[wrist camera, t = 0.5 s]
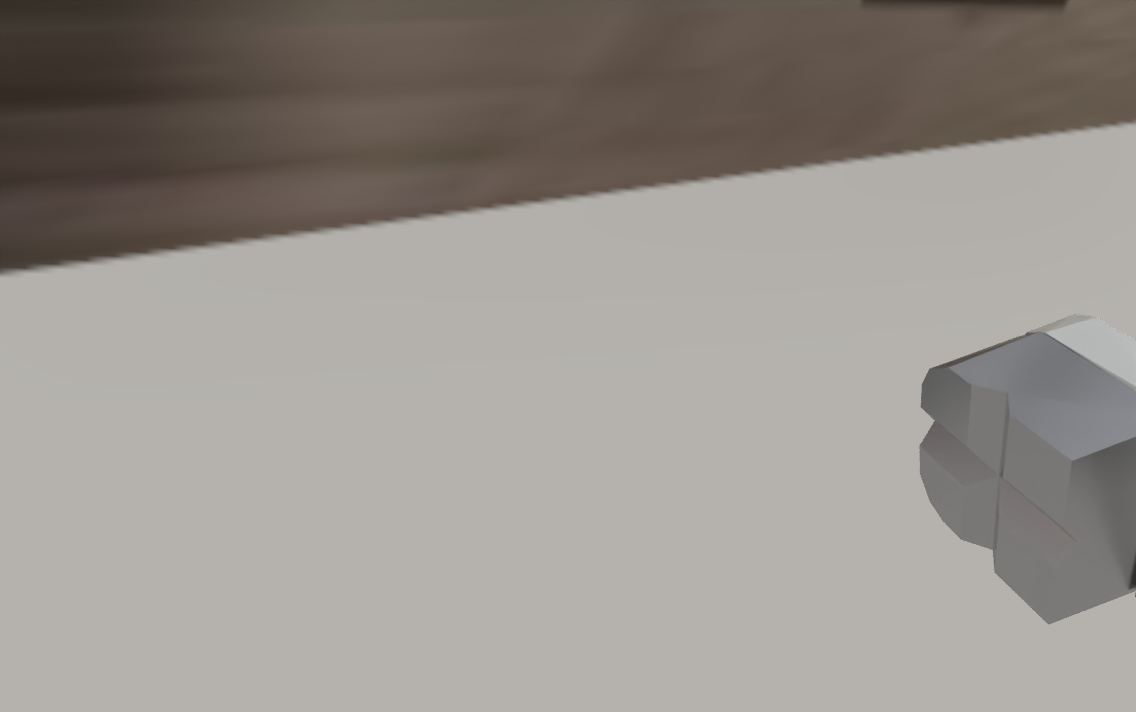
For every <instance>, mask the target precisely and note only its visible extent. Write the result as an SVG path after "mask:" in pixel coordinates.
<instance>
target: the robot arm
mask: <svg viewBox="0 0 1136 712" xmlns="http://www.w3.org/2000/svg"><path fill="white" fill-rule="evenodd" d="M921 395H922V396H921V408H922V409H924V411H925V412H926V413H928V414H929V415H930V416H931V417H932V418H933V419H934V420H935V422H934V423H933V425H932V426H931V428H930V430H929V431H928V433H927V435H926V436H925V438H924V439H923V441H922V443H921V444H920V475H921V478H922V481H923V483H924V486H925V489H926V492H927V495H928V497H929V500H930V502H931V504H932V505H933V507H934V508H935V510H936V511H937V513H938V514H939V516H940V517H941V519H942V520H943V522H945V523H946V525H947V526H948V527H949V528H950V529H951V530H952V531H953V532H954V533H955V534H956V535H957V536H958V537H959V538H960V539H961V540H964V541H967V542H971V543H973V544H977V545H980V546H983V547H986V548H989V549H992V550H993V558H994V570H995V573H996V574H997V575H998V576H999V577H1000V578H1001V579H1002V580H1003V581H1004V582H1005V583H1006V584H1007V585H1008V586H1009V587H1010V588H1011V589H1012V590H1013V591H1015V593H1017V594H1018V595H1019V596H1020V597H1021V598H1022V599H1023V600H1024V601H1025V602H1026V603H1027V604H1028V605H1029V606H1030V607H1031V608H1032V609H1033V610H1034V611H1035V612H1036V613H1037V614H1038V615H1039V616H1040V617H1041V618H1043V620H1045V622H1047V623H1048V624H1051V623H1053V622H1056V621H1059V620H1061V619H1064V618H1067V617H1069V616H1072V615H1074V614H1077V613H1080V612H1082V611H1085V610H1087V609H1090V608H1093V607H1095V606H1098V605H1100V604H1103V603H1106V602H1108V601H1111V600H1113V599H1116V598H1118V597H1121V596H1124V595H1126V594H1129V593H1132V592H1134V591H1136V340H1134V339H1132V338H1130V337H1129V336H1127V335H1125V334H1123V333H1121V332H1120V331H1118V330H1116V329H1114V328H1113V327H1111V326H1109V325H1107V324H1106V323H1104V322H1102V321H1100V320H1099V319H1097V318H1095V317H1091V316H1084V315H1078V314H1074V315H1072V316H1069V317H1066V318H1064V319H1061V320H1058V321H1056V322H1053V323H1050V324H1048V325H1045V326H1043V327H1040V328H1037V329H1035V330H1032V331H1029V332H1027V333H1026V334H1025V335H1023V336H1019V337H1016V338H1013V339H1011V340H1008V341H1005V342H1002V343H999V344H997V345H994V346H991V347H988V348H986V349H983V350H980V351H977V352H975V353H972V354H969V355H967V356H964V357H961V358H958V359H956V360H953V361H950V362H947V363H944V364H942V365H939V366H936V367H934V368H931V369H929V371H928V373H927V375H926V377H925V379H924V381H923V383H922V394H921ZM1135 597H1136V594H1135Z"/></svg>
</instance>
